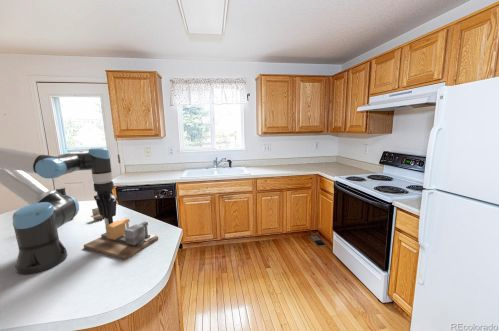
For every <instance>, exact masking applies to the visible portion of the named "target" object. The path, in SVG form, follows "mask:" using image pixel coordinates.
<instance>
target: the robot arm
mask: <svg viewBox="0 0 499 331" xmlns="http://www.w3.org/2000/svg"><path fill="white" fill-rule="evenodd" d="M77 171H91V177H92V182H93V191H94V192H96V195H94V196H93V199H94V200H95V203H96V206H97V208H98V210H99V213H100V215H101V216H103V217H104V218H103V220H104V224H105V225H104V226H106V225H108V224H111V223H113V222H114V218H113V217H115V216H117V201H118V196H114V193H113V190H114V181H113V174H112V173H113V172H112V164H111V156H110V151H109V149H108V148H106V147H93V148H92V147H91V148H89V149H88V152H85V153H83V152H81V153H80V152H79V153H78V152H77V153H64V154H59V155H57V156H54V155H48V154H43V153H36V152H31V151H26V150H20V149H14V148H9V147H2V146H0V185H2V186H4V187H5V189H8V190H9V192H12V193H13V194H14V195H16V196H17V197H19V198H20V199H21V200H23V201H24V202H26V204H28V205H25V206H23V207H21V208H19V209H17V210H16V211H14V213H13V214H12V226H13V229H14V233H15V238H16V242H17V246H18V254H17V258H16V262H15V271H16V273H17V274H19V275H31V274H36V273H39V272H42V271H47V270H48V269H51V268H53V267H56V266H58V265H60V263H63V262H64V261H65V260H66V259H67V257H68V250H67V249H66V246H64V244H63V243H62V241H61V239H60V237H59V231H58V229H59V228H60V227H62V226H63V225H65V224H67V222H70V221H72V220H73V219H74V218H75V217H76V216H77V215H78V213H79V210H80V203H79V201H78V200H77V199H76V198H75V197H74V196H71V195H67V194H66V195H62V194H60V193H59V192H58V191H56V190H50V189H49V188H47V187H46V186H45V185H44V184H42V183H41V182H40V181H38V180H37V179H35V178H34V177H33V176H32V175H30V174H29V173H31V174H37V175H38V176H40V177H41V178H43V179H55V178H60V177H62V176H64V175H67V174H71V173H74V172H77ZM72 218H73V219H72ZM71 219H72V220H71Z"/></svg>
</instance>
